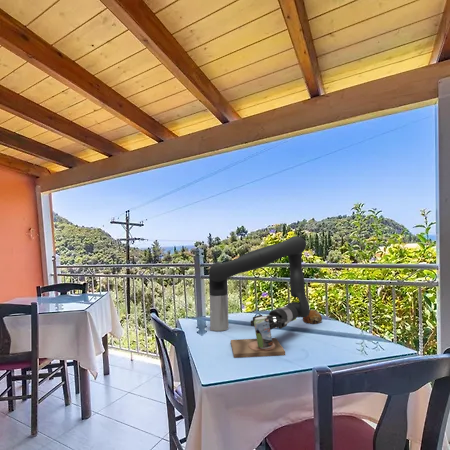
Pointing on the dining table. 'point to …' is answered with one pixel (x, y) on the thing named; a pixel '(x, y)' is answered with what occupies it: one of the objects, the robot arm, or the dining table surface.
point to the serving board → (255, 348)
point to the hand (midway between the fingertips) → (259, 325)
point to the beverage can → (263, 332)
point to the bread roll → (313, 317)
